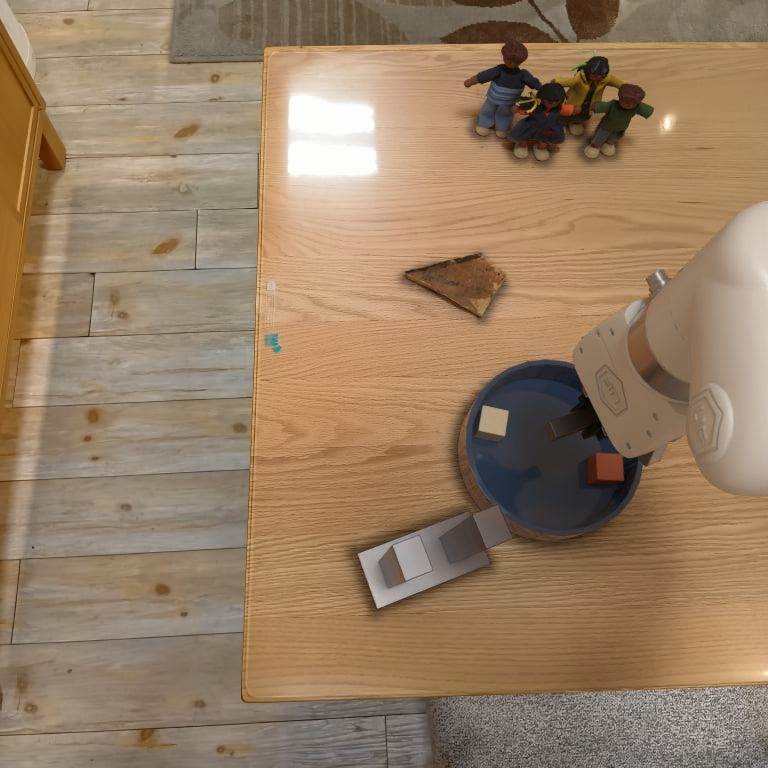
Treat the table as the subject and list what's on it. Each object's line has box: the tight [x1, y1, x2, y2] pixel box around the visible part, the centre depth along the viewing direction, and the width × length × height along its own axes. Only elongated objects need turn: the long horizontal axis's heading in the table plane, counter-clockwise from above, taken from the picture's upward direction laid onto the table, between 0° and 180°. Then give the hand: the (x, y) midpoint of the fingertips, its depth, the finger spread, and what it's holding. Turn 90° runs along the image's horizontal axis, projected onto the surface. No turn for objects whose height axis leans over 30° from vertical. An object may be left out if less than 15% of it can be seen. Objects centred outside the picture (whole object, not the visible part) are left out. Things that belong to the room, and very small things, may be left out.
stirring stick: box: [544, 405, 600, 442], centre depth 61 cm, size 2×10×2 cm, turn 111°
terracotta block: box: [587, 453, 624, 486], centre depth 76 cm, size 3×3×3 cm
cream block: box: [474, 405, 509, 442], centre depth 77 cm, size 3×3×3 cm
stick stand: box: [356, 504, 514, 610], centre depth 64 cm, size 6×13×20 cm, turn 111°
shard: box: [404, 252, 508, 318], centre depth 84 cm, size 11×8×2 cm
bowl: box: [457, 358, 644, 542], centre depth 76 cm, size 19×19×6 cm
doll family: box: [463, 39, 655, 162], centre depth 86 cm, size 23×9×13 cm, turn 99°
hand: (591, 419), depth 63 cm, fingers closed on stirring stick, 1 cm apart
